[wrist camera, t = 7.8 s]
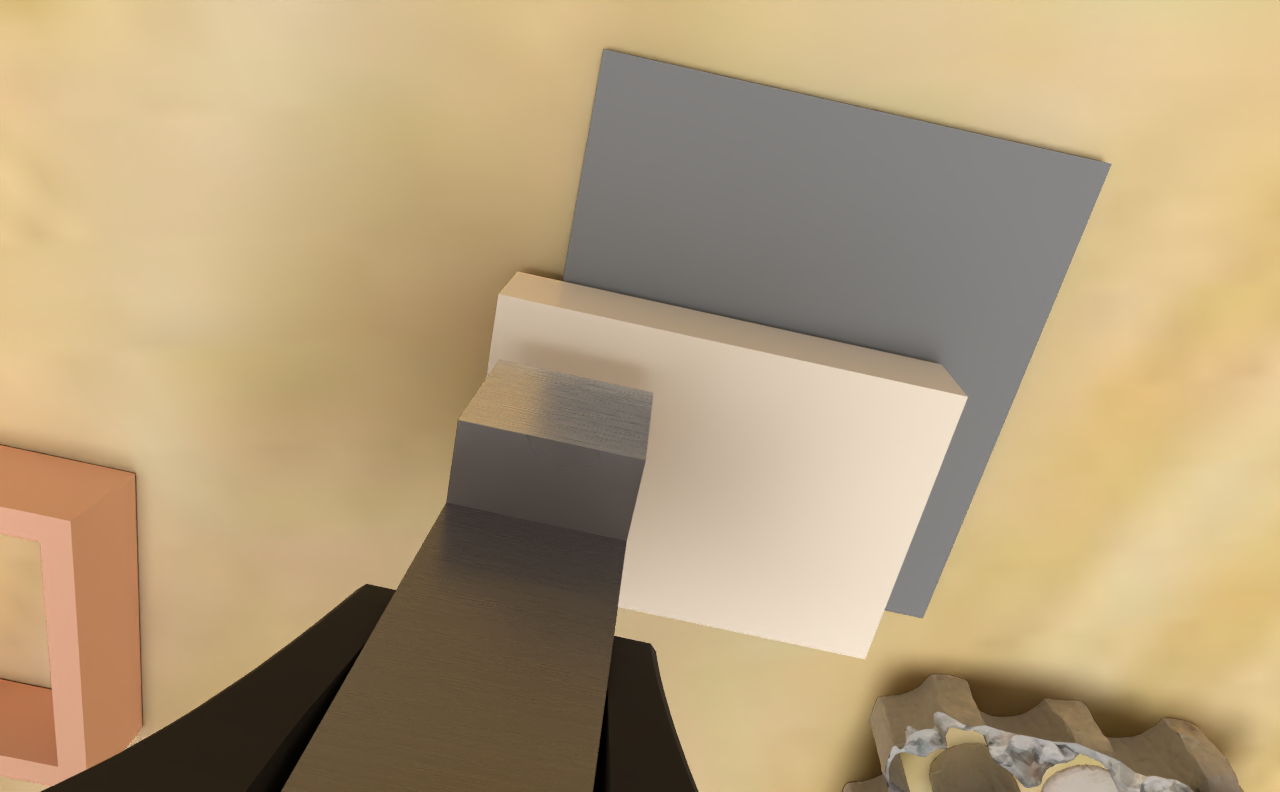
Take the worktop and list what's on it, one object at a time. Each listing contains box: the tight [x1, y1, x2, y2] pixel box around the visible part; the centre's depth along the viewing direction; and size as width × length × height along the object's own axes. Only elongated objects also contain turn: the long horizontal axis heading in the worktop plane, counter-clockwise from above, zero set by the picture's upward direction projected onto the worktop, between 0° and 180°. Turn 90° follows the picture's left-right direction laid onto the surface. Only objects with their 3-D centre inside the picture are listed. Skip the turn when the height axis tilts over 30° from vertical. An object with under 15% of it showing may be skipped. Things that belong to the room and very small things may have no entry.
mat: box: [563, 49, 1111, 618], centre depth 20 cm, size 12×11×1 cm
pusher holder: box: [0, 445, 142, 786], centre depth 23 cm, size 6×9×2 cm
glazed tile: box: [486, 271, 968, 659], centre depth 20 cm, size 7×2×10 cm
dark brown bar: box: [281, 359, 653, 792], centre depth 12 cm, size 3×6×10 cm, turn 168°
